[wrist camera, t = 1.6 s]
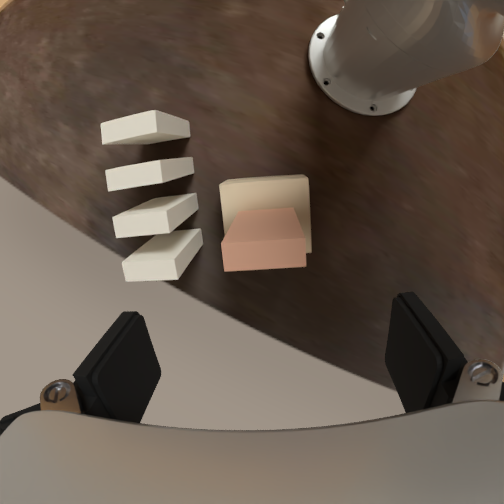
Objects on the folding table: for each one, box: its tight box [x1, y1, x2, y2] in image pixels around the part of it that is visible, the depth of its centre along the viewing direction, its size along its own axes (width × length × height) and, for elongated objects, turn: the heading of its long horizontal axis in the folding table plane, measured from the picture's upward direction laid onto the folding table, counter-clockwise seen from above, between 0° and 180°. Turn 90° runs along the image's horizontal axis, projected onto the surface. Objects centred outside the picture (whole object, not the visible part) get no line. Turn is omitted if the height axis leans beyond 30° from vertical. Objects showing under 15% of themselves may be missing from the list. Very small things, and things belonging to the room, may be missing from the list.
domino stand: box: [219, 174, 312, 253], centre depth 30 cm, size 7×8×5 cm
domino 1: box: [101, 110, 190, 144], centre depth 26 cm, size 2×5×10 cm, turn 95°
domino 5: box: [221, 208, 306, 271], centre depth 23 cm, size 2×5×10 cm, turn 95°
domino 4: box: [122, 229, 203, 282], centre depth 29 cm, size 2×5×10 cm, turn 95°
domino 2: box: [105, 157, 194, 191], centre depth 27 cm, size 2×5×10 cm, turn 95°
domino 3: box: [112, 193, 198, 238], centre depth 28 cm, size 2×5×10 cm, turn 95°
